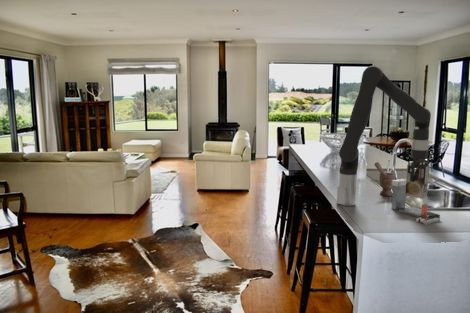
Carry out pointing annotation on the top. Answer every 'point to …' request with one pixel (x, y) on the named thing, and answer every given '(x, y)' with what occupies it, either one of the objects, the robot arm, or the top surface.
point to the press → (400, 199)
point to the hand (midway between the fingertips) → (417, 180)
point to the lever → (424, 213)
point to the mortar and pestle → (385, 181)
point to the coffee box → (418, 182)
